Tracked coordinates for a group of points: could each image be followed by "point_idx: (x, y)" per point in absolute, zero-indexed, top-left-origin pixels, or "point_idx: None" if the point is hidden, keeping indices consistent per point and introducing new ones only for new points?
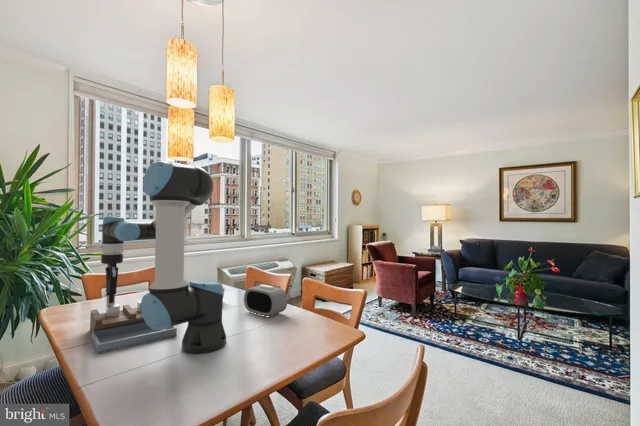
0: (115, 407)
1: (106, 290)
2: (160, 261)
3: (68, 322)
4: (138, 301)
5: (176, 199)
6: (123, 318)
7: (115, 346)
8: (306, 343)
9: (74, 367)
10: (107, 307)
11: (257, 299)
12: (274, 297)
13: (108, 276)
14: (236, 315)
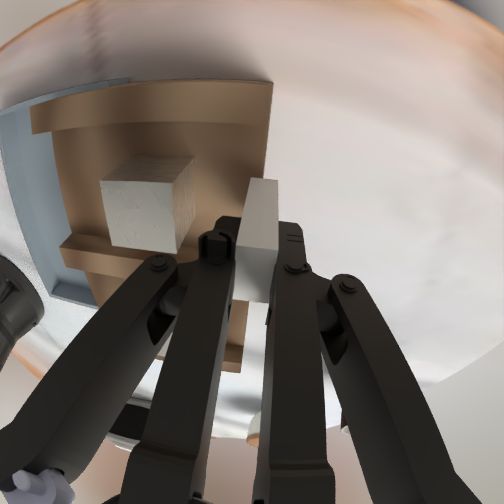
0: None
1: (333, 286)
2: None
3: (468, 74)
4: (172, 332)
5: None
6: (92, 215)
7: (13, 149)
8: (18, 347)
9: None
10: (110, 180)
11: (127, 424)
12: None
13: (127, 486)
14: (149, 389)
